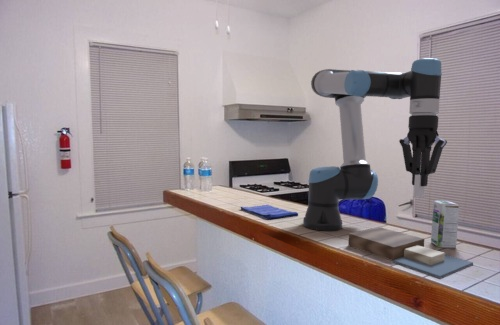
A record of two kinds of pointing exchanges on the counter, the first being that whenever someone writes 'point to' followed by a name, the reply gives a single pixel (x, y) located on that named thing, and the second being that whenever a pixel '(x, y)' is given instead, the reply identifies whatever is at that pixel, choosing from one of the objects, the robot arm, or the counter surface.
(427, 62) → the robot arm
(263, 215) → the dish towel
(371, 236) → the plate
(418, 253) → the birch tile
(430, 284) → the counter surface
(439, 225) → the syrup box
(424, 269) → the slate mat
